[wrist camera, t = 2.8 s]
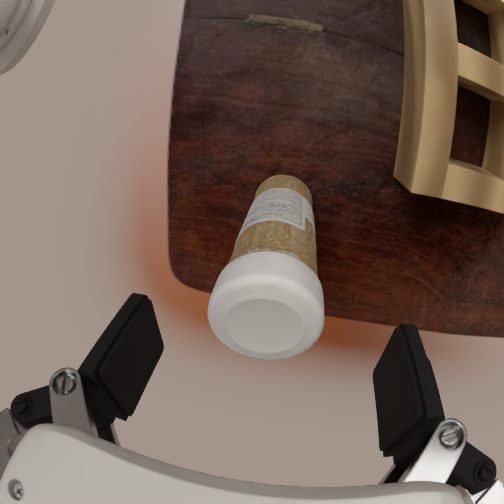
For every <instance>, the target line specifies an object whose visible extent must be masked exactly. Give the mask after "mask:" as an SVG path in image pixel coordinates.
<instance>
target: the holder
mask: <svg viewBox="0 0 504 504" xmlns="http://www.w3.org/2000/svg"><path fill="white" fill-rule="evenodd" d="M402 1H403V15H404V86H403V101H402V113H401V123H400V132H399V140H398V148H397V155H396V161H395V168H394V174H393V176H394V177H395V178H396V179H397V180H398V181H399V182H400V183H401V184H403V185H404V186H405V187H406V188H407V189H408V190H409V191H410V192H411V193H415V194H421V195H426V196H431V197H436V198H441V199H445V200H450V201H454V202H459V203H463V204H468V205H472V206H476V207H480V208H484V209H488V210H492V211H496V212H499V213H503V214H504V0H461V1H463V2H465V3H467V4H469V5H471V6H473V7H474V8H476V9H478V10H480V11H482V12H484V13H485V14H487V17H488V24H489V34H490V47H491V58H489V57H487V56H485V55H483V54H481V53H479V52H477V51H475V50H473V49H471V48H469V47H467V46H465V45H463V44H461V43H458V42H457V27H456V16H455V7H454V0H402ZM457 86H460V87H462V88H465V89H467V90H469V91H472V92H474V93H476V94H479V95H481V96H483V97H485V98H487V99H489V100H490V114H489V124H488V132H487V140H486V146H485V152H484V158H483V164H482V168H481V167H478V166H475V165H472V164H469V163H466V162H462V161H459V160H456V159H452V158H450V152H451V145H452V139H453V131H454V123H455V113H456V102H457Z"/></svg>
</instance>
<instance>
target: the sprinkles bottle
mask: <svg viewBox="0 0 504 504" xmlns="http://www.w3.org/2000/svg"><path fill="white" fill-rule="evenodd" d="M315 237H316V236H315V224H314V215H313V211H312V196H311V193H310V191H309V189H308V188H307V186H306V185H305V184H304V183H303V182H302V181H300V180H299V179H297V178H295V177H293V176H288V175H276V176H273V177H270V178H268V179H267V180H265V181H264V182H263V183H262V184H261V185H260V186H259V188H258V190H257V192H256V194H255V200H254V202H253V204H252V205H251V208H250V210H249V212H248V214H247V217H246V219H245V221H244V224H243V226H242V228H241V231H240V233H239V235H238V238H237V240H236V243H235V247H234V251H233V253H232V256H231V258H230V261H229V263H228V265H227V266H226V267H225V268H224V269H223V271H222V272H221V274H220V275H219V277H218V279H217V282H216V284H215V286H214V289H213V292H212V294H211V297H210V300H209V304H208V310H207V312H208V320H209V324H210V326H211V328H212V330H213V332H214V334H215V335H216V336H217V338H218V339H219V340H220V341H221V342H222V343H223V344H225V345H226V346H227V347H229V348H230V349H232V350H233V351H235V352H237V353H239V354H242V355H245V356H247V357H251V358H255V359H261V360H281V359H286V358H290V357H293V356H296V355H298V354H300V353H302V352H304V351H306V350H307V349H309V348H310V347H311V346H312V345H313V344H314V343H315V342H316V341H317V339H318V338H319V336H320V334H321V332H322V329H323V325H324V299H323V290H322V286H321V283H320V281H319V279H318V277H317V261H316V241H315Z"/></svg>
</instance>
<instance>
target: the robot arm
mask: <svg viewBox="0 0 504 504" xmlns="http://www.w3.org/2000/svg"><path fill="white" fill-rule="evenodd" d="M30 3H31V0H0V51H1V50H2V49H3V48H4V47H5V46H6V45H7V44H8V43H9V41H10V40H11V39H12V37H13V36H14V34H15V33H16V31H17V29H18V28H19V26H20V24H21V22H22V20H23V18H24V16H25V14H26V12H27V10H28V8H29V5H30ZM163 348H164V345H163V341H162V337H161V334H160V330H159V327H158V323H157V320H156V316H155V312H154V308H153V305H152V301H151V300H149V299H148V297H147V296H146V295H142V294H137V293H132V294H131V295H130V297H129V298H128V299H127V301H126V302H125V303H124V305H123V306H122V307H121V309H120V310H119V311H118V313H117V314H116V316H115V317H114V318H113V320H112V321H111V322H110V324H109V325H108V326H107V328H106V330H105V331H104V332H103V334H102V335H101V336H100V338H99V339H98V341H97V342H96V344H95V345H94V347H93V348H92V350H91V351H90V352H89V354H88V355H87V357H86V359H85V360H84V362H83V363H82V364H81V366H80V368H79V369H78V371H76V370H75V369H73V368H62V369H60V370H58V371H56V372H55V373H54V374H53V376H52V377H51V379H50V382H49V385H48V386H45V387H41V388H38V389H36V390H32V391H29V392H25V393H22V394H20V395H18V396H16V397H15V398H14V400H13V401H12V404H11V409H10V410H9V409H8V408H6V409H5V410H3V411H2V412H0V504H504V485H503V483H502V482H501V480H500V479H499V478H498V479H496V478H495V477H496V465H495V463H494V461H493V460H491V459H490V458H489V457H488V456H486V455H485V454H483V453H482V452H481V451H479V450H478V449H476V448H475V447H473V446H472V445H471V444H469V443H468V442H467V431H466V428H465V426H464V425H463V423H461V422H460V421H459V420H456V419H454V418H448V419H445V416H444V411H443V407H442V403H441V399H440V395H439V391H438V387H437V383H436V380H435V377H434V373H433V369H432V366H431V363H430V361H429V359H428V358H427V356H426V353H425V350H424V347H423V344H422V341H421V338H420V335H419V332H418V329H417V327H416V325H415V324H401V325H400V326H399V327H398V328H395V330H394V332H393V334H392V336H391V338H390V340H389V342H388V344H387V346H386V348H385V350H384V352H383V354H382V356H381V358H380V360H379V362H378V363H377V365H376V367H375V369H374V372H373V384H374V392H375V400H376V410H377V421H378V434H379V448H380V450H381V451H383V456H384V457H389V456H393V458H394V459H393V460H394V464H393V466H392V467H391V468H390V470H389V471H388V472H387V474H386V475H385V476H384V478H383V479H382V480H381V481H380V482H379V484H378V485H367V486H351V487H350V486H348V487H299V486H284V485H273V484H263V483H255V482H248V481H241V480H235V479H230V478H224V477H219V476H215V475H210V474H205V473H201V472H197V471H193V470H189V469H185V468H181V467H178V466H175V465H171V464H168V463H165V462H162V461H159V460H156V459H153V458H150V457H147V456H144V455H141V454H138V453H136V452H133V451H130V450H128V449H125V448H123V447H121V446H120V443H119V440H118V437H117V434H116V431H115V428H114V425H113V422H114V420H115V418H116V417H117V418H119V419H122V420H124V421H126V420H127V418H128V416H131V415H132V414H133V413H134V411H135V409H136V406H137V404H138V402H139V400H140V398H141V396H142V394H143V392H144V389H145V387H146V385H147V383H148V381H149V379H150V377H151V375H152V373H153V371H154V369H155V367H156V364H157V363H158V361H159V359H160V357H161V355H162V352H163Z"/></svg>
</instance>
